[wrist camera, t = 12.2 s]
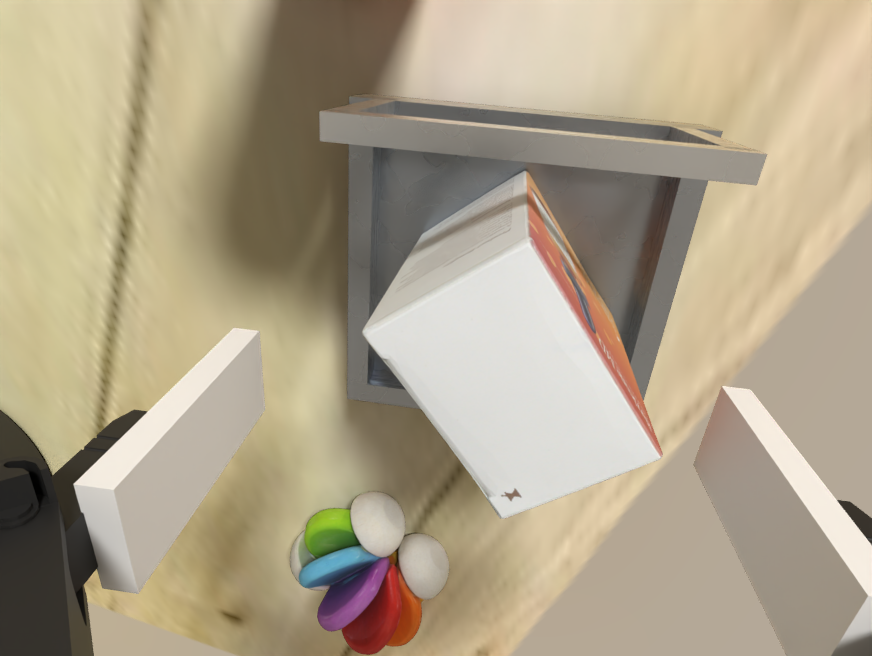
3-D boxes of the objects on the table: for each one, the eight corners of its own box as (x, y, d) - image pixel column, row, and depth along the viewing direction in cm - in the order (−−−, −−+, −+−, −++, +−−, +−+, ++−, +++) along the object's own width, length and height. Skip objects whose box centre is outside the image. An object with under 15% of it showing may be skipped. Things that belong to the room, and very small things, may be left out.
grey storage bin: (367, 360, 31) (301, 488, 21) (373, 92, 25) (284, 107, 15) (618, 394, 30) (664, 546, 20) (691, 121, 23) (807, 157, 14)
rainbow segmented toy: (378, 601, 40) (351, 705, 33) (284, 516, 37) (235, 611, 31) (468, 557, 37) (458, 662, 30) (372, 461, 34) (339, 554, 28)
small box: (613, 315, 25) (671, 465, 16) (507, 367, 27) (502, 528, 18) (527, 163, 23) (533, 232, 13) (417, 232, 25) (355, 334, 15)
